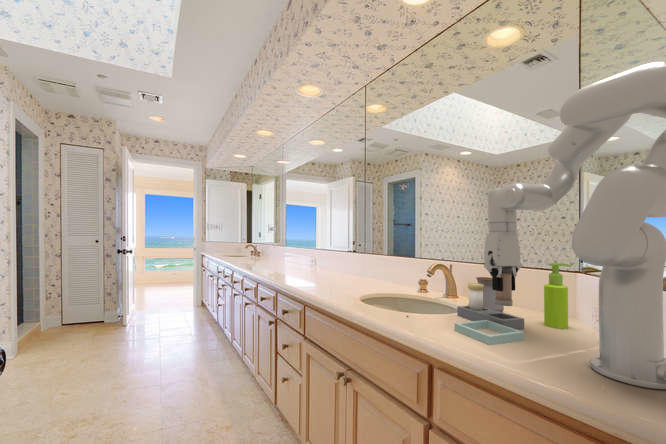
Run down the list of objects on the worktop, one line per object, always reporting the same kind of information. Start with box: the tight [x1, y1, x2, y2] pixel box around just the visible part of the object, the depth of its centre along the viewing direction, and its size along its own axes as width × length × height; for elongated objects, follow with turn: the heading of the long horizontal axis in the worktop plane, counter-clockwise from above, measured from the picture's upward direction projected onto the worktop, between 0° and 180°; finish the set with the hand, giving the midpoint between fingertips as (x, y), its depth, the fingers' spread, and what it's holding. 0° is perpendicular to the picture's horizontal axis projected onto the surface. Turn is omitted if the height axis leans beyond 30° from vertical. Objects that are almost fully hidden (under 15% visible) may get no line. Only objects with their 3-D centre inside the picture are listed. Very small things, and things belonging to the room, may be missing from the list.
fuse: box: [467, 282, 484, 311], centre depth 102 cm, size 5×5×11 cm
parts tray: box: [454, 320, 526, 346], centre depth 84 cm, size 12×12×3 cm
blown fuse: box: [495, 267, 514, 307], centre depth 92 cm, size 5×5×11 cm
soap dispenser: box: [543, 262, 572, 330], centre depth 94 cm, size 6×7×20 cm
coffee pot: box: [467, 276, 505, 313], centre depth 114 cm, size 21×12×15 cm, turn 128°
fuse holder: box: [456, 305, 525, 331], centre depth 97 cm, size 18×8×4 cm, turn 21°
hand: (503, 289), depth 92 cm, fingers closed on blown fuse, 4 cm apart
